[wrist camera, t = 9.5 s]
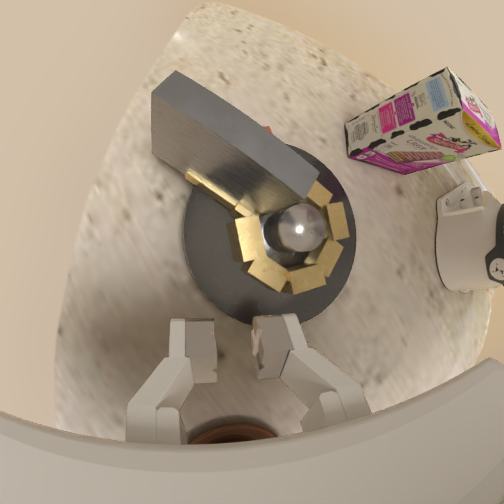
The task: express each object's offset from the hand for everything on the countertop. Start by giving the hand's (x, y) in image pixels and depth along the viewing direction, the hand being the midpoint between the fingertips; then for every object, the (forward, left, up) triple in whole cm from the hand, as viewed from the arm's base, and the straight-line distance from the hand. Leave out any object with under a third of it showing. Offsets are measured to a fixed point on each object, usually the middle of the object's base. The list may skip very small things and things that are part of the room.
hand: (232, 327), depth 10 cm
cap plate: (-9, 0, -14) cm, 17 cm away
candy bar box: (-28, -1, -15) cm, 32 cm away
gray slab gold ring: (-8, -3, -12) cm, 15 cm away
